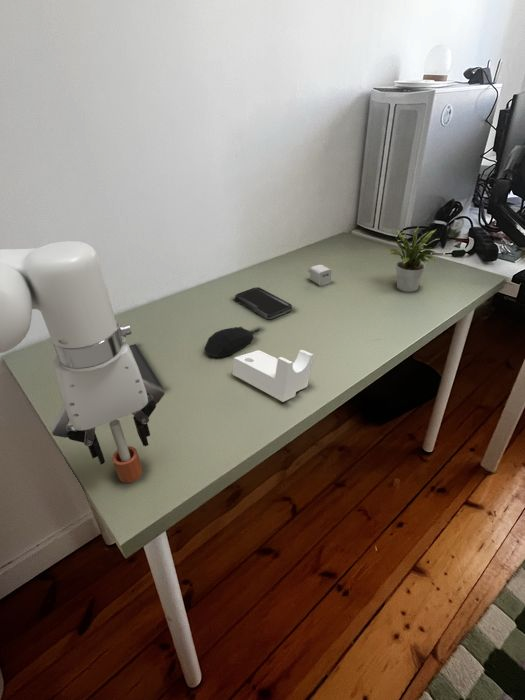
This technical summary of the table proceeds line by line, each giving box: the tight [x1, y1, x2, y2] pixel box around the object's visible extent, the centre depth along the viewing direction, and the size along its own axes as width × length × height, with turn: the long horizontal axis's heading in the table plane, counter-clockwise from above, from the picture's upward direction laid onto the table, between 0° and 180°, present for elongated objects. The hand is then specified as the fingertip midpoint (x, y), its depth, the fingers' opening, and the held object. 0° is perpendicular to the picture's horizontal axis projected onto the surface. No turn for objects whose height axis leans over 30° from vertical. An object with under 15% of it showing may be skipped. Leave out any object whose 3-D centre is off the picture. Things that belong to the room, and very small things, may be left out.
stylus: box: [108, 419, 131, 462], centre depth 63 cm, size 1×1×10 cm
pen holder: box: [111, 445, 143, 484], centre depth 65 cm, size 4×4×4 cm
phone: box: [234, 286, 293, 320], centre depth 109 cm, size 8×1×15 cm
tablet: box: [129, 343, 164, 396], centre depth 86 cm, size 14×18×1 cm
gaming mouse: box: [204, 326, 261, 358], centre depth 94 cm, size 6×15×4 cm, turn 134°
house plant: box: [384, 225, 439, 293], centre depth 109 cm, size 14×14×16 cm
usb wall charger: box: [307, 263, 333, 287], centre depth 119 cm, size 4×7×4 cm, turn 29°
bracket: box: [231, 349, 314, 403], centre depth 82 cm, size 13×7×8 cm, turn 47°
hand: (122, 447), depth 63 cm, fingers open, 5 cm apart
